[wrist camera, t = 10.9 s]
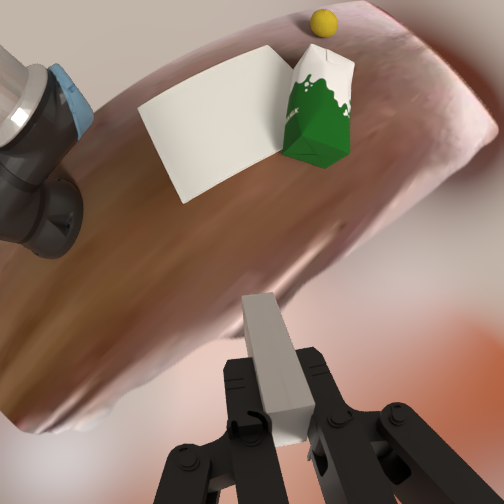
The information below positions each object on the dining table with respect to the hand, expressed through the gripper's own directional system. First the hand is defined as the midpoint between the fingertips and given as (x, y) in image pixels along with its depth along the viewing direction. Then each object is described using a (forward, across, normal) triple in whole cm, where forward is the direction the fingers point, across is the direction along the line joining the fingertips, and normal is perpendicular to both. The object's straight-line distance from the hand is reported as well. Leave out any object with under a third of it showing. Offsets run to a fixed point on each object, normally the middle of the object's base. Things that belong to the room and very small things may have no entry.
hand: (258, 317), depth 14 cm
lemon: (+44, +22, +31) cm, 58 cm away
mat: (+37, +2, +13) cm, 40 cm away
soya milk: (+25, +12, +5) cm, 28 cm away
